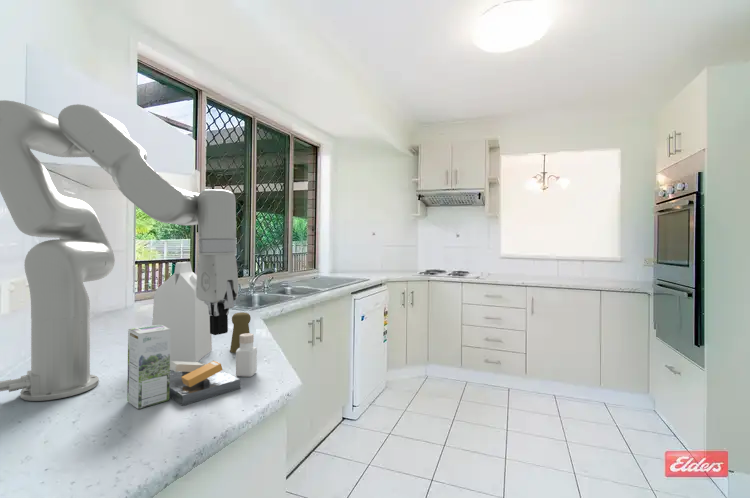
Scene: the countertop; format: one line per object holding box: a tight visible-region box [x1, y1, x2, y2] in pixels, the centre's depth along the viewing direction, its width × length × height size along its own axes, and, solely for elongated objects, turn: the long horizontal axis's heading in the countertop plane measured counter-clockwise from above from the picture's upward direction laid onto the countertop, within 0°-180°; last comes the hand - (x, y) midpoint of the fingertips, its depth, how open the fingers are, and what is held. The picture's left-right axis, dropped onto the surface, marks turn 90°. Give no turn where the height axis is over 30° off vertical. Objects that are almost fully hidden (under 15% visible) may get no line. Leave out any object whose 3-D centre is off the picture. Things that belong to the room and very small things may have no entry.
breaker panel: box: [169, 370, 242, 407], centre depth 81 cm, size 12×14×3 cm
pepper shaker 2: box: [235, 332, 258, 378], centre depth 89 cm, size 4×4×10 cm
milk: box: [151, 261, 213, 362], centre depth 103 cm, size 12×12×26 cm
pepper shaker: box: [229, 311, 251, 354], centre depth 110 cm, size 6×6×11 cm
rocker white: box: [170, 361, 207, 373], centre depth 82 cm, size 7×3×2 cm, turn 139°
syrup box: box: [126, 325, 171, 410], centre depth 73 cm, size 6×6×14 cm
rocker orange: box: [181, 360, 223, 387], centre depth 78 cm, size 7×3×2 cm, turn 139°
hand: (219, 333), depth 81 cm, fingers closed
